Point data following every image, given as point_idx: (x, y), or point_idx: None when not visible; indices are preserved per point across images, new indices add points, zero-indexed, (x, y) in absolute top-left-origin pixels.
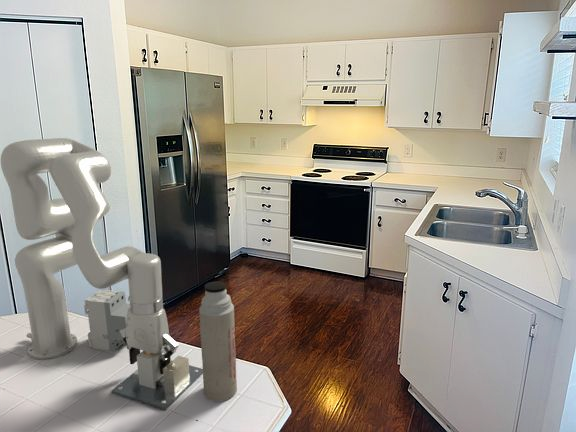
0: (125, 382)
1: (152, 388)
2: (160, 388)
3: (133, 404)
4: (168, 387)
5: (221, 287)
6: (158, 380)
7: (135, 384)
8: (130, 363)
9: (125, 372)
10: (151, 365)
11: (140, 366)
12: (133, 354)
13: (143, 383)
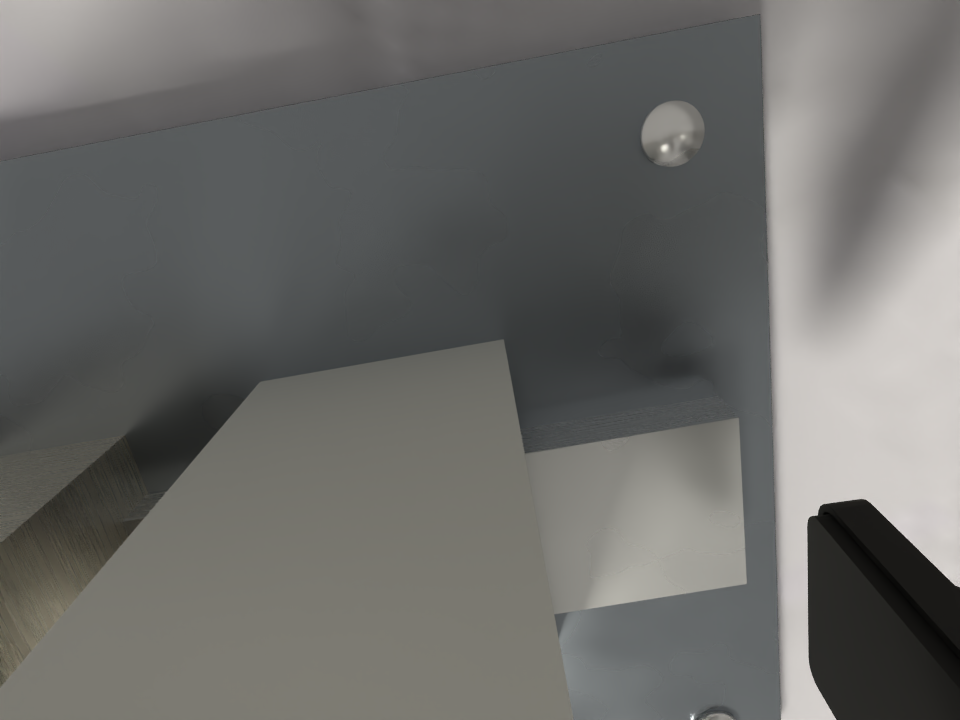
0: (711, 262)
1: (284, 377)
2: (201, 431)
3: (265, 44)
4: (17, 476)
5: None
6: None
7: (549, 309)
8: (855, 503)
9: (903, 417)
10: (43, 650)
11: (444, 510)
12: (923, 691)
13: (430, 364)
